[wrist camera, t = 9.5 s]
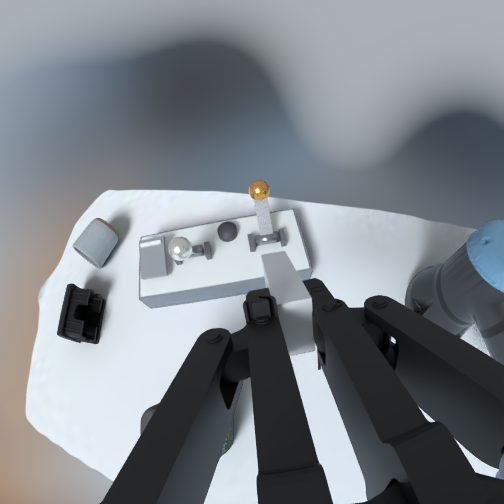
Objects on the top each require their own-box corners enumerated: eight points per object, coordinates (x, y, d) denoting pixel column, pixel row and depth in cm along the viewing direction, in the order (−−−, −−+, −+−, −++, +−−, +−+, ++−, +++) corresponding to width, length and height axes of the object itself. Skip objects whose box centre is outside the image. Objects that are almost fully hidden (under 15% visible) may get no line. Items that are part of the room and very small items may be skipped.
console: (308, 281, 46) (314, 264, 40) (150, 308, 46) (134, 295, 40) (292, 224, 52) (294, 201, 46) (150, 250, 51) (136, 231, 45)
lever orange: (280, 244, 42) (270, 178, 39) (257, 248, 42) (246, 181, 39) (277, 239, 45) (267, 178, 42) (255, 243, 45) (245, 182, 42)
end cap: (80, 294, 48) (61, 282, 42) (106, 297, 47) (88, 284, 41) (72, 341, 43) (50, 333, 37) (98, 347, 43) (77, 339, 37)
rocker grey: (168, 275, 42) (165, 273, 41) (143, 279, 42) (140, 278, 40) (165, 237, 44) (162, 235, 42) (141, 242, 44) (138, 240, 42)
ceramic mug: (126, 240, 53) (109, 219, 46) (106, 273, 50) (85, 255, 43) (96, 226, 56) (79, 207, 49) (77, 256, 52) (58, 238, 46)
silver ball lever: (205, 260, 44) (192, 257, 34) (184, 263, 44) (165, 262, 34) (202, 240, 44) (188, 232, 34) (181, 244, 44) (162, 237, 34)
